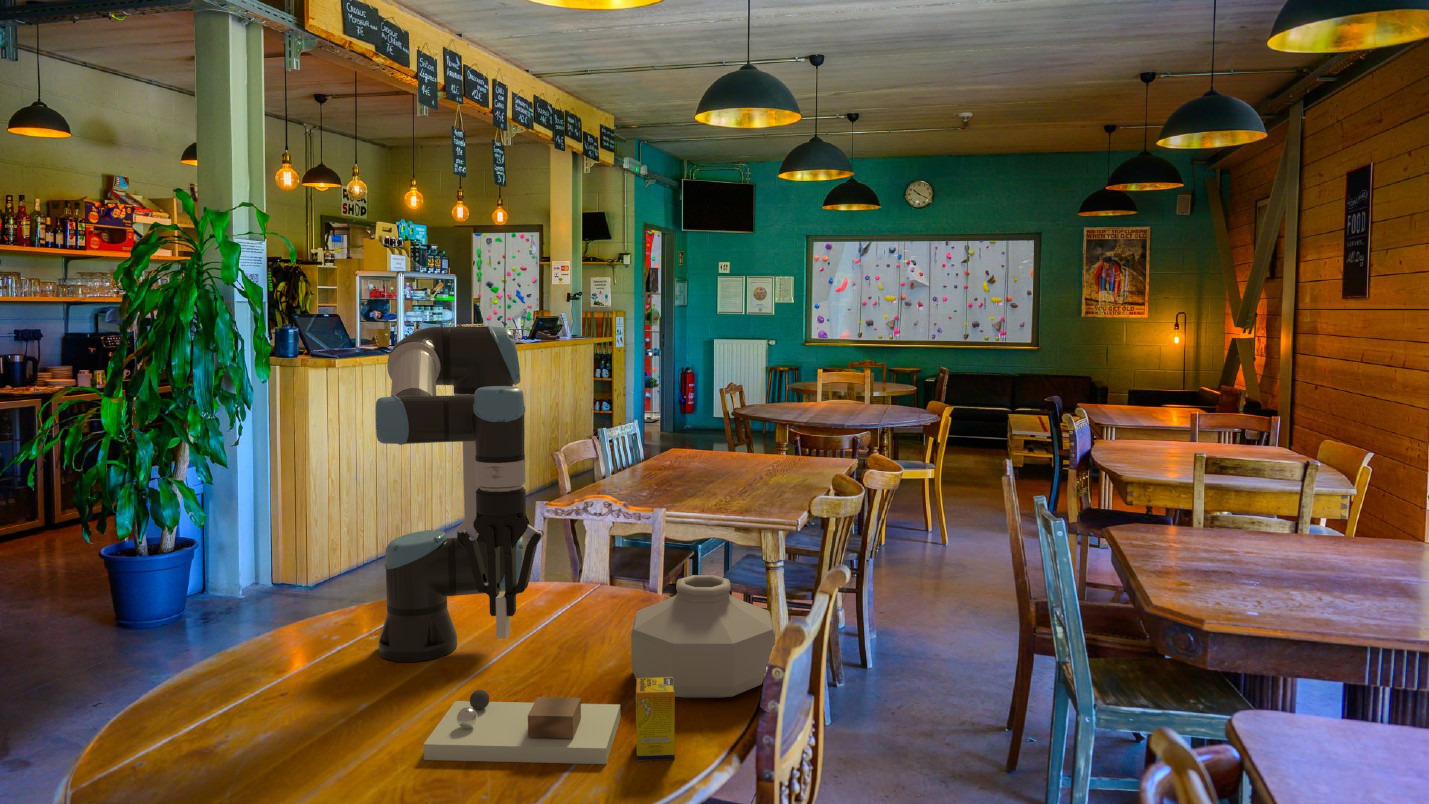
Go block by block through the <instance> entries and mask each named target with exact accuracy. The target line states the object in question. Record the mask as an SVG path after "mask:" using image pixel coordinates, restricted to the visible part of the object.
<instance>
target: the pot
mask: <svg viewBox="0 0 1429 804" xmlns="http://www.w3.org/2000/svg"><path fill="white" fill-rule="evenodd" d="M675 586H676V589H675V590H676V594H675V595H673V596H672V597H670V598H667V599H665V600H662V601H660V602H657V603H655V604H651V605H649V606H646V607H644V608H641V609H638V610H637V611H636V613H635V616H634V620H633V625H632V629H631V633H630V638H631V639H630V641H631V642H630V643H631V644H630V645H631V670H632V672H633V674H634V678H635V680H636V679H637V678H658V677H672V678H673V685H674V692H675V698H677V697H679V698H680V699H721V698H722V699H724V698H732V697H735V696H737V695H740V694H741V693H745V692H747V691H749V690H751V689H754V688H756V687H758V686H760V685H763V684H762V681H763V676H764V674H765V673H766V667H767V663H768V661H769V655H770V653H771V651H772V647H773V646H774V645H775V646H776V632H775V628H774V623H773V618H772V615H771V613H770V611H769V610H767V609H764V608H763V607H759V606H757V605H754V604H751V603H749V602H746V601H745V600H741V599H739V598H737V597H735V596H732V595H731V594H730V591H731V590H732V587H731V581H730V579H728V578H725V577H721V576H719V575H714V574H713V575H711V574H703V575H701V574H699V575H698V574H695V575H694V574H693V575H689V576H686V577H682V578H678V579H677V581H676V585H675Z"/></svg>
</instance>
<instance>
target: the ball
mask: <svg viewBox="0 0 1429 804" xmlns="http://www.w3.org/2000/svg"><path fill="white" fill-rule="evenodd" d="M477 719H478V716H477V712H476V711H475V710H474V709H473V708H469V707H467V708H463V709H462V710H460V712H459V713H458V715H457V723H458V725H459V726H460V727H462V728H465V729H468V728H471V727H473V726H474V725H475V724H476V722H477Z"/></svg>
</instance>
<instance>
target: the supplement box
mask: <svg viewBox="0 0 1429 804" xmlns="http://www.w3.org/2000/svg"><path fill="white" fill-rule="evenodd" d="M675 699H676V697H675V692H674V685H673V678H672V677H658V678H637V679H636V678H635V724H636V727H635V729H636V732H635V733H636V734H635V735H636V739H635V740H636V760H637V761H638V762H640V761H661V760H662V761H665V760H667V761H668V760H675V759H676V756H675V754H676V753H675V751H676V750H675V743H676V741H675V740H676V739H675V737H676V736H675V732H676V731H675V728H676V727H675V724H676V723H675V720H676V719H675V718H676V717H675V711H676V708H675V707H676V706H675V705H676V704H675V703H676V702H675Z"/></svg>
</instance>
